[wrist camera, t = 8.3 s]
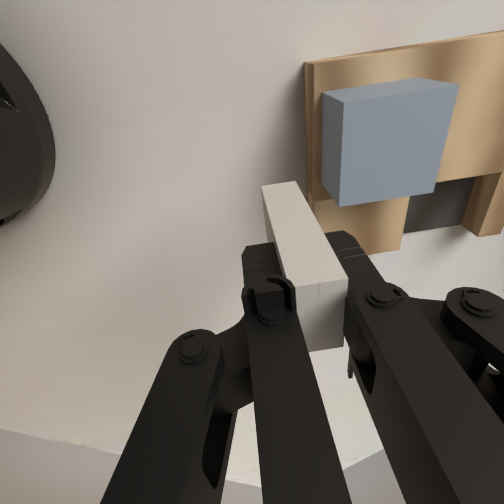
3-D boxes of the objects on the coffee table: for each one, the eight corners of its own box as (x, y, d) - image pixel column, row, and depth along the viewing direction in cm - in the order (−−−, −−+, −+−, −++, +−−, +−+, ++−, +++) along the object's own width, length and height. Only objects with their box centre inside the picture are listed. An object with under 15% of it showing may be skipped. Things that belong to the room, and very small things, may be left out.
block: (321, 182, 22) (339, 207, 19) (321, 92, 19) (343, 102, 15) (401, 170, 22) (433, 192, 19) (417, 77, 19) (459, 84, 15)
